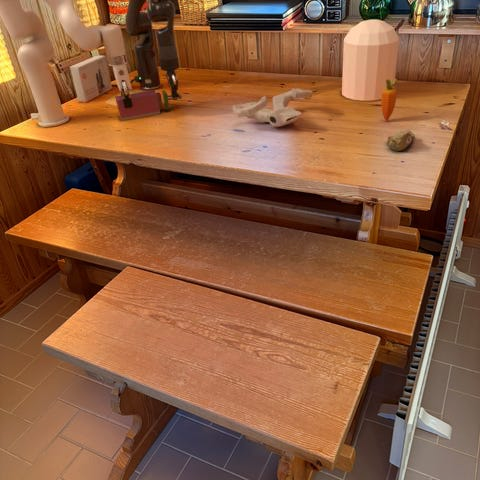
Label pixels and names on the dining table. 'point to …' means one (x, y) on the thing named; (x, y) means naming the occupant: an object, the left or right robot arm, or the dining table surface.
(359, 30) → the container
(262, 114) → the beige irregular branched piece
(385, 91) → the carrot
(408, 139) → the rock
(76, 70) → the skincare box
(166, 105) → the drawer
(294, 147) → the dining table surface
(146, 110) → the cabinet
